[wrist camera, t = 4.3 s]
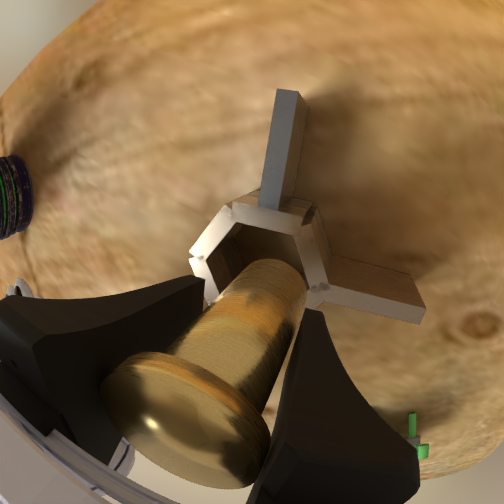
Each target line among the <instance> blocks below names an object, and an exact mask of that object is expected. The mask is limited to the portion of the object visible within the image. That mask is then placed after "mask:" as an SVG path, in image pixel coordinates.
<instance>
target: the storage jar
mask: <svg viewBox="0 0 504 504" xmlns="http://www.w3.org/2000/svg"><path fill="white" fill-rule="evenodd" d="M32 212H33V191H32V184H31V179H30V175H29V171H28V169H27V166H26V164H25V162H24V161H23V159H22V158H21V157H20V156H18V155H10V156H8V157H0V240H3V239H5V238H8V237H10V235H13V234H15V233H16V232H21V231H23V230H25V229H26V228H27V227H28V226H29V224H30V221H31V217H32Z"/></svg>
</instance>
